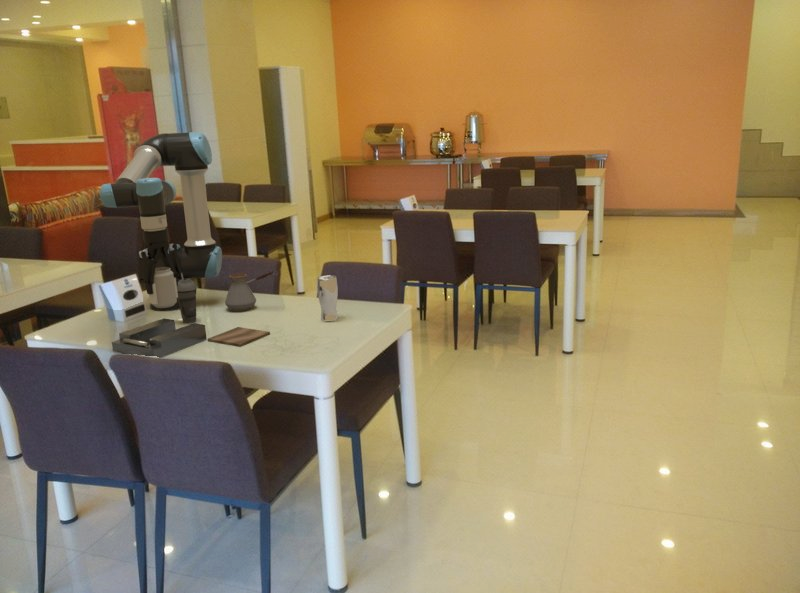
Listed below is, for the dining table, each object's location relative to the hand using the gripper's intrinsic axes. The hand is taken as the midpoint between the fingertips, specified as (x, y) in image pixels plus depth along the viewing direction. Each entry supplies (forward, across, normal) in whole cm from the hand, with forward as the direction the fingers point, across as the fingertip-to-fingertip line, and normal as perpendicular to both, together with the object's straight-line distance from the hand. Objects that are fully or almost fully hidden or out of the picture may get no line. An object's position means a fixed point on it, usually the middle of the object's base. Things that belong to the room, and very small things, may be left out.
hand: (164, 300), depth 220 cm
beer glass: (+14, +42, -33) cm, 55 cm away
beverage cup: (+14, +20, +12) cm, 27 cm away
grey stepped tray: (+14, -4, 0) cm, 14 cm away
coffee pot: (+15, +42, +2) cm, 44 cm away
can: (+2, 0, 0) cm, 2 cm away
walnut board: (+14, +13, -18) cm, 26 cm away
